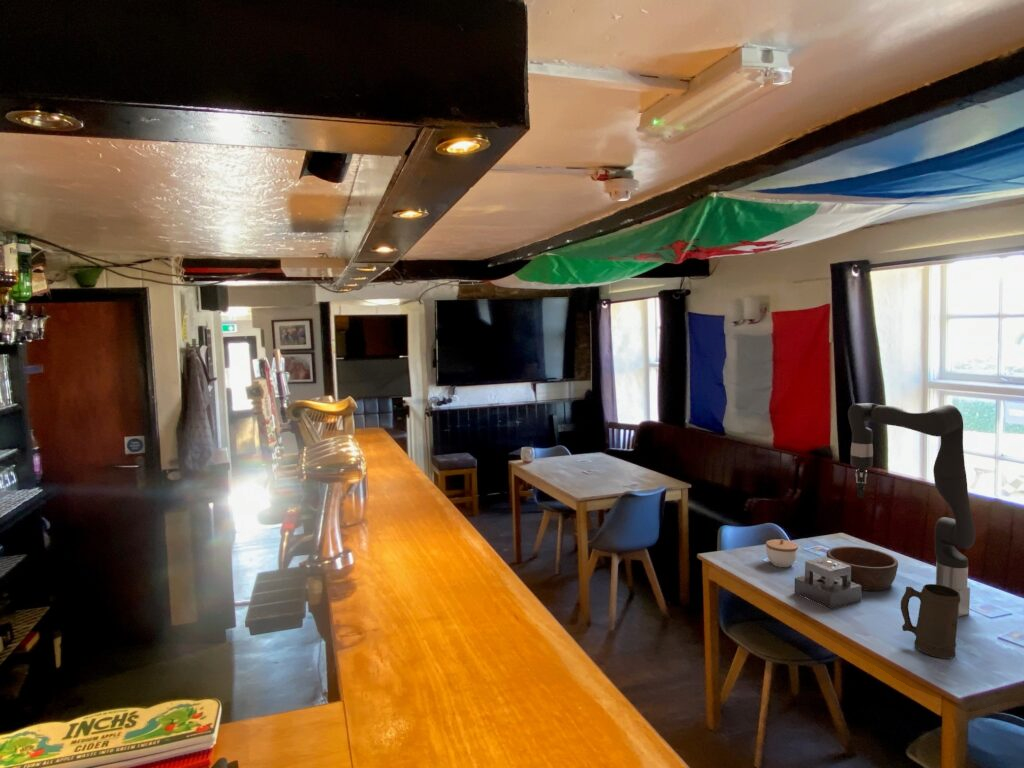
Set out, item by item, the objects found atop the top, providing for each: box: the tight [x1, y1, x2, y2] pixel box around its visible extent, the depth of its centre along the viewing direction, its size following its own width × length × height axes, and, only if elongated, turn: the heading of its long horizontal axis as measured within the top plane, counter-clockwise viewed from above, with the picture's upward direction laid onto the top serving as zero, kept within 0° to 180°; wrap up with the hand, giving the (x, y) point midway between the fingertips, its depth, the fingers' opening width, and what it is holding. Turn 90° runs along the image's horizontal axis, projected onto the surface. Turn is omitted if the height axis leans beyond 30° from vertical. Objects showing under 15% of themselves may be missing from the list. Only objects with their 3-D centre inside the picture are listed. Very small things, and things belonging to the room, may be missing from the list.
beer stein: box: [900, 583, 961, 659], centre depth 195 cm, size 15×11×20 cm
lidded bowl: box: [765, 538, 799, 568], centre depth 268 cm, size 13×13×11 cm
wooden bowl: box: [826, 545, 899, 592], centre depth 249 cm, size 25×25×10 cm
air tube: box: [821, 559, 834, 584], centre depth 235 cm, size 4×4×14 cm
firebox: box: [794, 556, 862, 610], centre depth 235 cm, size 16×16×13 cm
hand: (860, 495), depth 243 cm, fingers open, 8 cm apart
